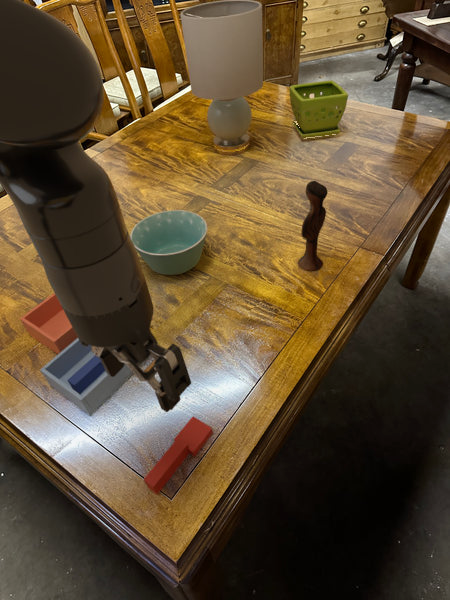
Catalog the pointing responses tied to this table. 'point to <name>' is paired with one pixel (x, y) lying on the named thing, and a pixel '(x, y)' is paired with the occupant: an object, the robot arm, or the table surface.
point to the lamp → (225, 65)
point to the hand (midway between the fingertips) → (142, 387)
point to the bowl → (170, 240)
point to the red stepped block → (178, 453)
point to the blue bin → (70, 364)
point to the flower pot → (318, 108)
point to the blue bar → (86, 374)
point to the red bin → (50, 325)
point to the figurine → (313, 226)
